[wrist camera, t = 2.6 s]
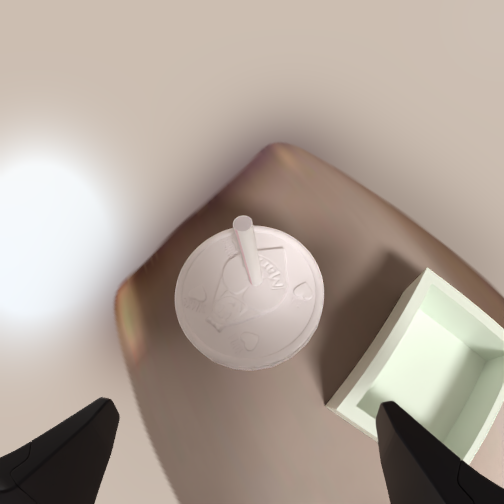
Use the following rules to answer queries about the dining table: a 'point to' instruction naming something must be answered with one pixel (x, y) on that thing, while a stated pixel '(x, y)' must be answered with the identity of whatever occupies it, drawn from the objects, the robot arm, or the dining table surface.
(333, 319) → the dining table surface
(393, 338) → the bin
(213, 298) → the smoothie
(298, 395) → the dining table surface
